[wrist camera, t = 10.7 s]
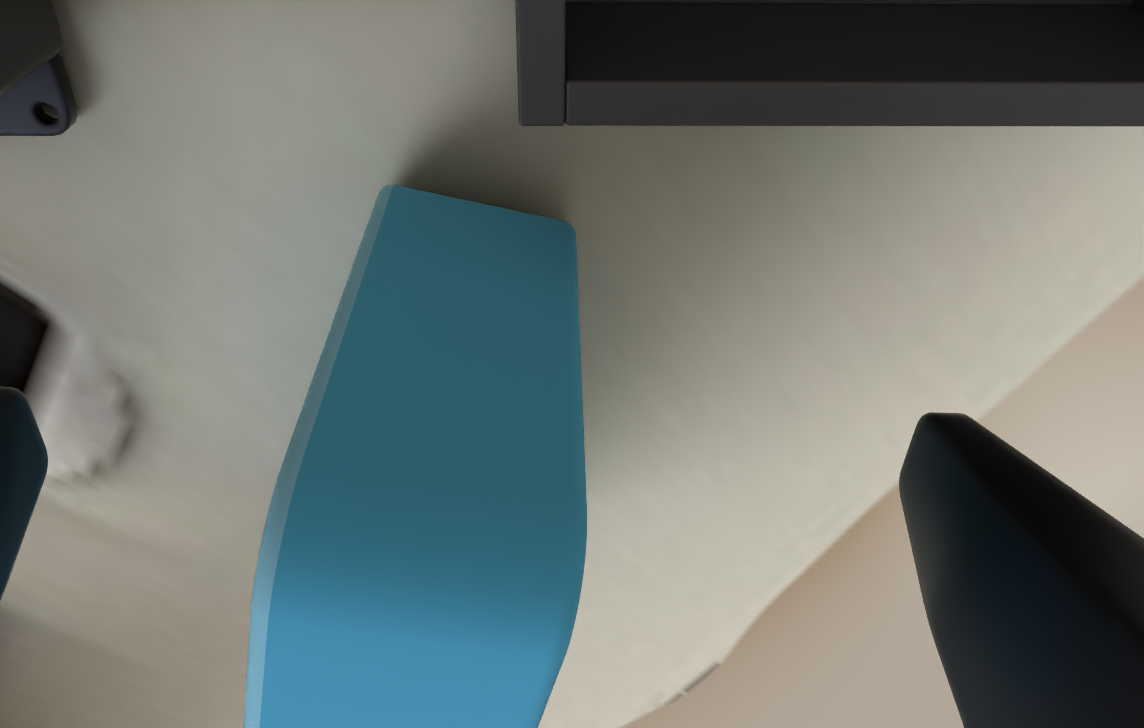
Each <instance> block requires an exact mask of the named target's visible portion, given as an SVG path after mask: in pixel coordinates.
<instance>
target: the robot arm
mask: <svg viewBox="0 0 1144 728" xmlns="http://www.w3.org/2000/svg"><path fill="white" fill-rule="evenodd" d="M62 46H63V38H62V35H61V32H60V28H59V25H58V22H57V19H56V16H55V12H54V9H53V6H52V3H51V0H0V136H54V135H59V134H62V133H63V132H65V131H66V130H67V129H68V128H69V127H71V126H72V125H73V124H74V123H75V121H76V119H77V116H78V113H77V106H76V103H75V100H74V97H73V94H72V90H71V87H70V84H69V81H68V78H67V75H66V71H65V68H64V65H63V62H62V59H61V56H60V52H59V50H60V49H61V47H62ZM42 102H44V103H48V104H50V105H51V106H52V107H54V108H55V110H56V111H57V113H58V118H54V117H51V116H49V115H48V114H47V113H45V111H44V109H43V108H42ZM47 467H48V456H47V450H46V447H45V444H44V441H43V439H42V436H41V434H40V431H39V428H38V426H37V423H36V420H35V418H34V415H33V413H32V410H31V407H30V405H29V402H28V400H27V398H26V396H25V395H24V394H23V393H22V392H21V391H20V390H18V389H15V388H10V387H0V600H1V598H2V595H3V593H4V590H5V588H6V585H7V582H8V580H9V577H10V574H11V571H12V568H13V566H14V563H15V560H16V557H17V554H18V552H19V549H20V546H21V543H22V541H23V538H24V535H25V532H26V529H27V527H28V524H29V521H30V518H31V516H32V513H33V510H34V507H35V504H36V502H37V499H38V496H39V493H40V490H41V488H42V485H43V482H44V479H45V476H46V473H47ZM899 491H900V497H901V501H902V506H903V511H904V515H905V520H906V524H907V529H908V533H909V538H910V543H911V547H912V552H913V556H914V561H915V565H916V570H917V575H918V579H919V584H920V588H921V593H922V597H923V602H924V606H925V610H926V614H927V618H928V622H929V625H930V628H931V631H932V635H933V638H934V641H935V644H936V647H937V650H938V653H939V656H940V659H941V662H942V664H943V667H944V670H945V673H946V676H947V679H948V682H949V685H950V687H951V690H952V693H953V696H954V699H955V702H956V705H957V708H958V710H959V713H960V716H961V719H962V722H963V725H964V728H1144V538H1142V537H1141V536H1139V535H1138V534H1137V533H1135V532H1134V531H1132V530H1131V529H1129V528H1128V527H1126V526H1125V525H1124V524H1122V523H1121V522H1119V521H1118V520H1116V519H1115V518H1114V517H1112V516H1111V515H1109V514H1108V513H1106V512H1105V511H1104V510H1102V509H1101V508H1099V507H1098V506H1096V505H1095V504H1093V503H1092V502H1091V501H1089V500H1088V499H1086V498H1085V497H1084V496H1082V495H1081V494H1079V493H1078V492H1076V491H1075V490H1073V489H1072V488H1071V487H1069V486H1068V485H1066V484H1065V483H1063V482H1062V481H1060V480H1059V479H1058V478H1056V477H1055V476H1053V475H1052V474H1051V473H1049V472H1048V471H1046V470H1045V469H1043V468H1042V467H1040V466H1039V465H1038V464H1036V463H1035V462H1033V461H1032V460H1031V459H1029V458H1028V457H1026V456H1025V455H1023V454H1022V453H1020V452H1019V451H1018V450H1016V449H1015V448H1013V447H1012V446H1010V445H1009V444H1008V443H1006V442H1005V441H1003V440H1002V439H1000V438H999V437H997V436H996V435H995V434H993V433H992V432H990V431H989V430H987V429H986V428H985V427H983V426H982V425H980V424H979V423H978V422H976V421H975V420H973V419H972V418H970V417H969V416H967V415H964V414H960V413H927V414H925V415H923V416H922V417H921V418H920V420H919V421H918V423H917V426H916V428H915V431H914V434H913V437H912V440H911V443H910V446H909V449H908V451H907V454H906V457H905V460H904V463H903V466H902V469H901V472H900V478H899Z"/></svg>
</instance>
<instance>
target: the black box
mask: <svg viewBox="0 0 1144 728" xmlns="http://www.w3.org/2000/svg"><path fill="white" fill-rule="evenodd" d="M515 2H516V39H517V76H518V113H519V124H520V125H522V126H562V125H564V124H565V122H566V124H567V125H610V126H1144V0H515Z"/></svg>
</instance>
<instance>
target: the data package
mask: <svg viewBox="0 0 1144 728" xmlns="http://www.w3.org/2000/svg"><path fill="white" fill-rule="evenodd" d="M586 539H587V503H586V478H585V452H584V426H583V401H582V375H581V350H580V324H579V298H578V273H577V247H576V234H575V230H574V228H573V226H572V225H571V224H570V223H568V222H566V221H562V220H557V219H553V218H548V217H543V216H538V215H534V214H529V213H524V212H520V211H515V210H510V209H506V208H501V207H496V206H491V205H487V204H482V203H477V202H473V201H468V200H463V199H459V198H454V197H449V196H444V195H440V194H435V193H430V192H426V191H421V190H416V189H412V188H407V187H402V186H397V185H387V186H385V187H383V188H382V189H381V191H380V192H379V194H378V197H377V199H376V202H375V205H374V208H373V210H372V213H371V216H370V219H369V222H368V224H367V227H366V230H365V233H364V236H363V238H362V241H361V244H360V247H359V250H358V253H357V255H356V258H355V261H354V264H353V267H352V269H351V272H350V275H349V278H348V281H347V283H346V286H345V289H344V292H343V295H342V298H341V300H340V303H339V306H338V309H337V312H336V314H335V317H334V320H333V323H332V326H331V328H330V331H329V334H328V337H327V340H326V342H325V345H324V348H323V351H322V354H321V357H320V359H319V362H318V365H317V368H316V371H315V373H314V376H313V379H312V382H311V385H310V387H309V390H308V393H307V396H306V399H305V402H304V404H303V407H302V410H301V413H300V416H299V418H298V421H297V424H296V427H295V430H294V432H293V435H292V438H291V441H290V444H289V446H288V449H287V452H286V455H285V458H284V461H283V463H282V466H281V469H280V472H279V475H278V478H277V482H276V485H275V488H274V492H273V495H272V499H271V503H270V507H269V511H268V515H267V519H266V523H265V527H264V532H263V536H262V541H261V546H260V551H259V556H258V561H257V567H256V573H255V579H254V586H253V594H252V603H251V616H250V632H249V648H248V665H247V681H246V697H245V713H244V728H538V725H539V723H540V720H541V718H542V715H543V712H544V710H545V707H546V704H547V702H548V699H549V697H550V694H551V691H552V689H553V686H554V684H555V681H556V678H557V676H558V673H559V670H560V668H561V665H562V663H563V660H564V657H565V655H566V652H567V649H568V646H569V642H570V639H571V635H572V631H573V627H574V623H575V619H576V614H577V609H578V604H579V599H580V593H581V587H582V579H583V572H584V563H585V553H586Z"/></svg>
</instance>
